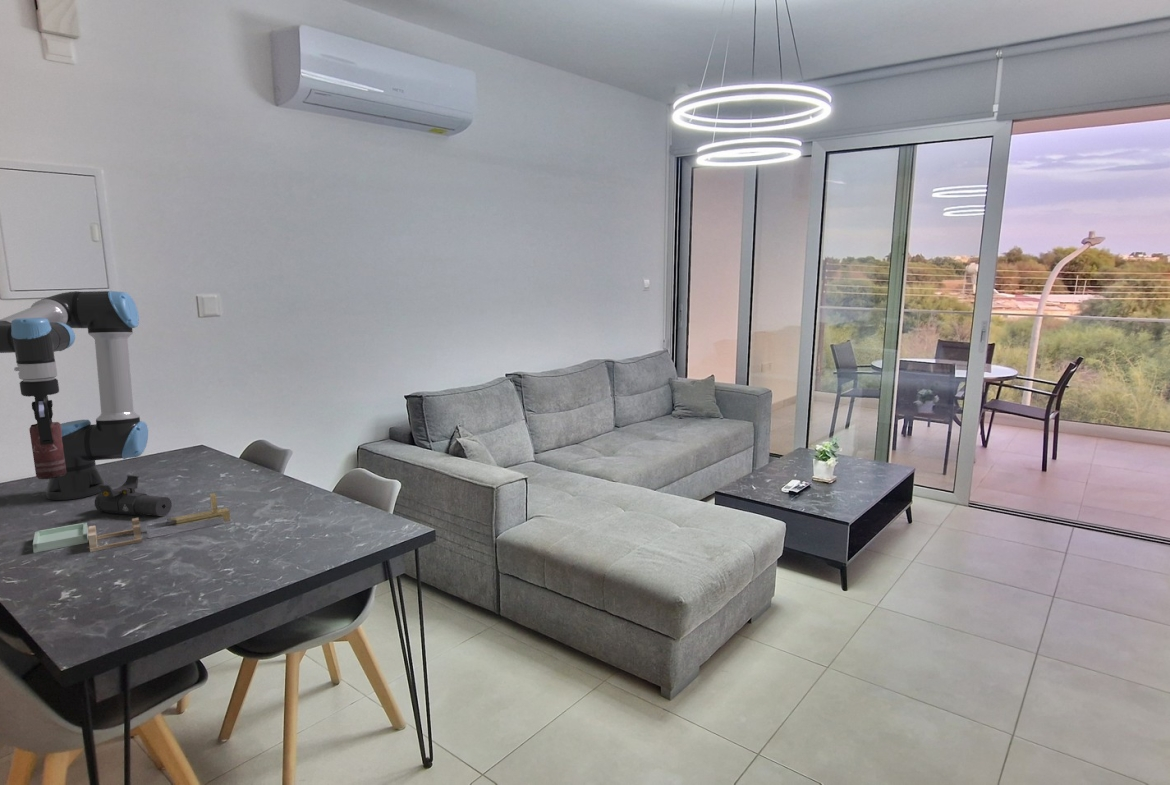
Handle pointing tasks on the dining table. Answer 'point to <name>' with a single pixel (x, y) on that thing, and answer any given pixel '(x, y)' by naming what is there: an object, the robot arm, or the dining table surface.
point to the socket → (94, 537)
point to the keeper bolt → (202, 514)
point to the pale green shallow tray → (60, 537)
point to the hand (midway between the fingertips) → (51, 468)
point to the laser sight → (131, 500)
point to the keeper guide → (180, 526)
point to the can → (48, 453)
